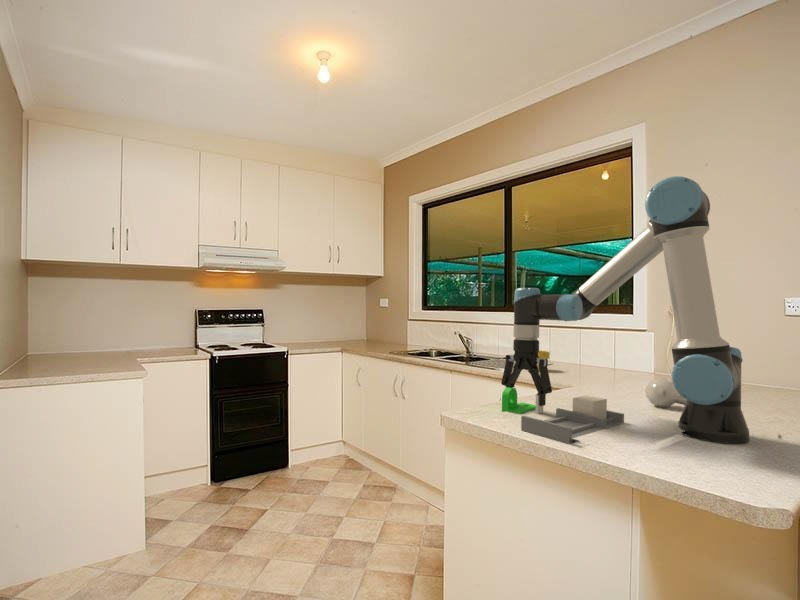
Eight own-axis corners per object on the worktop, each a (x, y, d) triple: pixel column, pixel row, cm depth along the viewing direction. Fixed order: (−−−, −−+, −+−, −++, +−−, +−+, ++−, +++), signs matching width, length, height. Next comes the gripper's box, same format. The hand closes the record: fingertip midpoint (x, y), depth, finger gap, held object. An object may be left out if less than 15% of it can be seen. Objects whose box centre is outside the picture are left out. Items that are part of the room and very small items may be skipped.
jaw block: (606, 420, 126) (606, 398, 126) (592, 424, 122) (593, 401, 122) (586, 416, 131) (586, 395, 131) (572, 419, 127) (572, 398, 127)
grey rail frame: (623, 427, 124) (624, 413, 124) (569, 444, 108) (569, 428, 108) (576, 416, 135) (577, 404, 135) (521, 430, 119) (521, 416, 120)
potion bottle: (642, 408, 154) (695, 420, 146) (642, 395, 147) (697, 407, 139) (647, 383, 158) (698, 394, 150) (647, 370, 151) (701, 380, 143)
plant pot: (527, 371, 223) (527, 351, 223) (527, 369, 233) (527, 349, 233) (549, 373, 220) (549, 352, 220) (548, 370, 230) (549, 350, 230)
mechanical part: (519, 418, 132) (520, 391, 132) (501, 415, 137) (502, 388, 137) (539, 412, 141) (539, 386, 141) (521, 408, 145) (521, 383, 145)
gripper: (566, 341, 131) (564, 418, 131) (505, 335, 149) (504, 404, 149) (550, 342, 127) (549, 422, 127) (490, 336, 145) (489, 407, 144)
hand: (525, 412), depth 138 cm, fingers open, 9 cm apart
